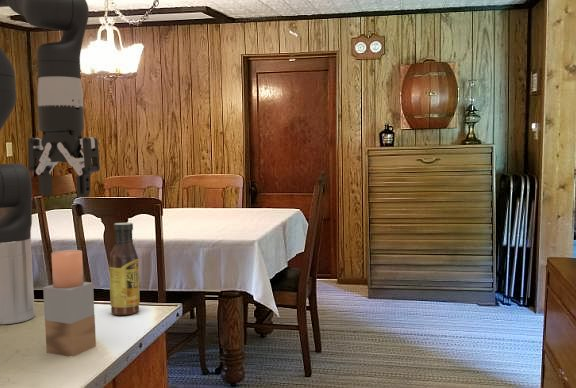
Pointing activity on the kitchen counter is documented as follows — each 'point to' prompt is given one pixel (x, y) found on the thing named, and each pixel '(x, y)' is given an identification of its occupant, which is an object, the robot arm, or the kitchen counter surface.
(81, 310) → the slate block
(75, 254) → the clay cylinder
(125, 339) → the kitchen counter surface
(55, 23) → the robot arm
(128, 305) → the sauce bottle
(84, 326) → the walnut block
